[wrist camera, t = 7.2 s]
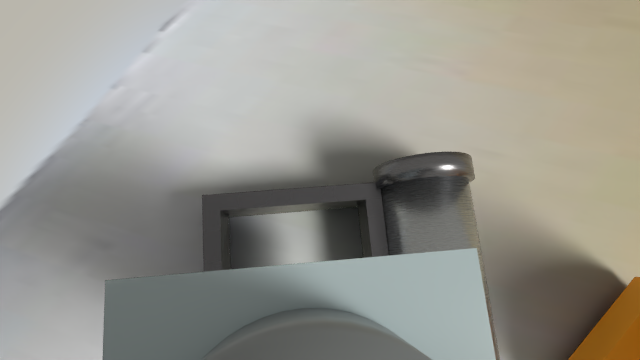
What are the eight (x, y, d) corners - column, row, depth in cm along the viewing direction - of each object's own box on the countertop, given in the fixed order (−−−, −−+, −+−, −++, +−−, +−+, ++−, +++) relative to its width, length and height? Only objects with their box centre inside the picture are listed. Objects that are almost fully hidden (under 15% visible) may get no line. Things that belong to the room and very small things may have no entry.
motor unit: (489, 427, 19) (553, 481, 14) (220, 461, 18) (192, 530, 13) (448, 173, 22) (490, 148, 17) (213, 190, 21) (188, 169, 16)
